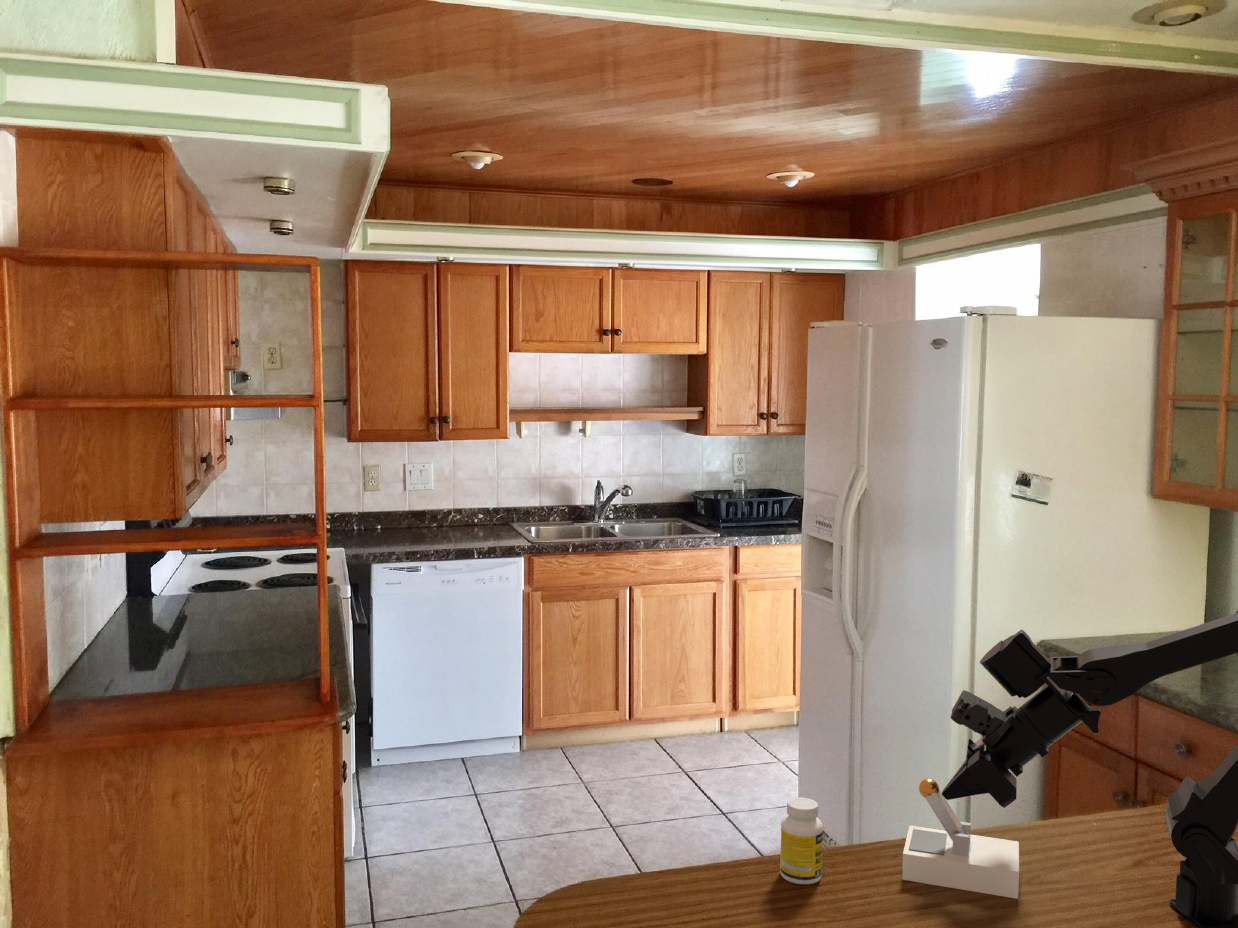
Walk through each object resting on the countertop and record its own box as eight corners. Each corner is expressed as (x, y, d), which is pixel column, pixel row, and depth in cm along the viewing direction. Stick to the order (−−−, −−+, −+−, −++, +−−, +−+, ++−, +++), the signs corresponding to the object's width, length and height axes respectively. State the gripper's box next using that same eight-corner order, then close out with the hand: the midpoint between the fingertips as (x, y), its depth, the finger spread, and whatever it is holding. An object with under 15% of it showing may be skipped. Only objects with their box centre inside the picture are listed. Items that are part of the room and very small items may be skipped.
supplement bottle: (822, 887, 131) (823, 813, 131) (779, 883, 133) (780, 809, 132) (822, 867, 137) (823, 796, 136) (781, 864, 138) (781, 793, 137)
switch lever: (973, 835, 136) (932, 772, 137) (972, 844, 133) (931, 779, 134) (956, 843, 136) (915, 780, 138) (955, 852, 134) (914, 787, 135)
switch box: (1017, 866, 137) (1019, 823, 136) (1018, 898, 129) (1019, 852, 128) (908, 849, 142) (909, 807, 141) (902, 879, 134) (903, 834, 133)
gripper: (992, 656, 141) (907, 726, 145) (989, 696, 123) (892, 773, 128) (1053, 719, 139) (964, 788, 143) (1058, 768, 121) (957, 844, 126)
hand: (944, 795), depth 135 cm, fingers closed
